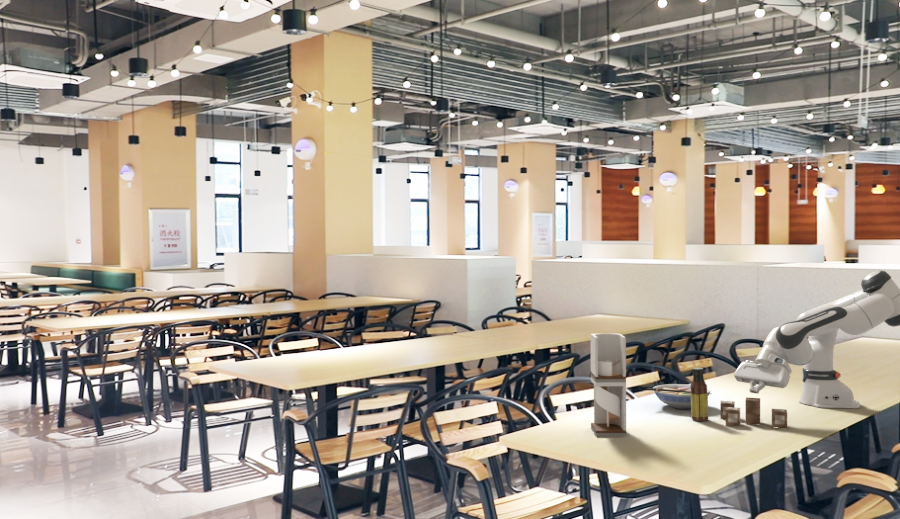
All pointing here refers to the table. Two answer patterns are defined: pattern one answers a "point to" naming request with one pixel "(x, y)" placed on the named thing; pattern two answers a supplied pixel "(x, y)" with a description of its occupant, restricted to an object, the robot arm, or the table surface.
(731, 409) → the white-paneled wooden block
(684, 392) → the ramen bowl
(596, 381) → the spiral tower model
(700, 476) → the table surface
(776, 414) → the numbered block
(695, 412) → the sauce bottle
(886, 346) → the table surface
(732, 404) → the white paneled block
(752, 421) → the plain block
